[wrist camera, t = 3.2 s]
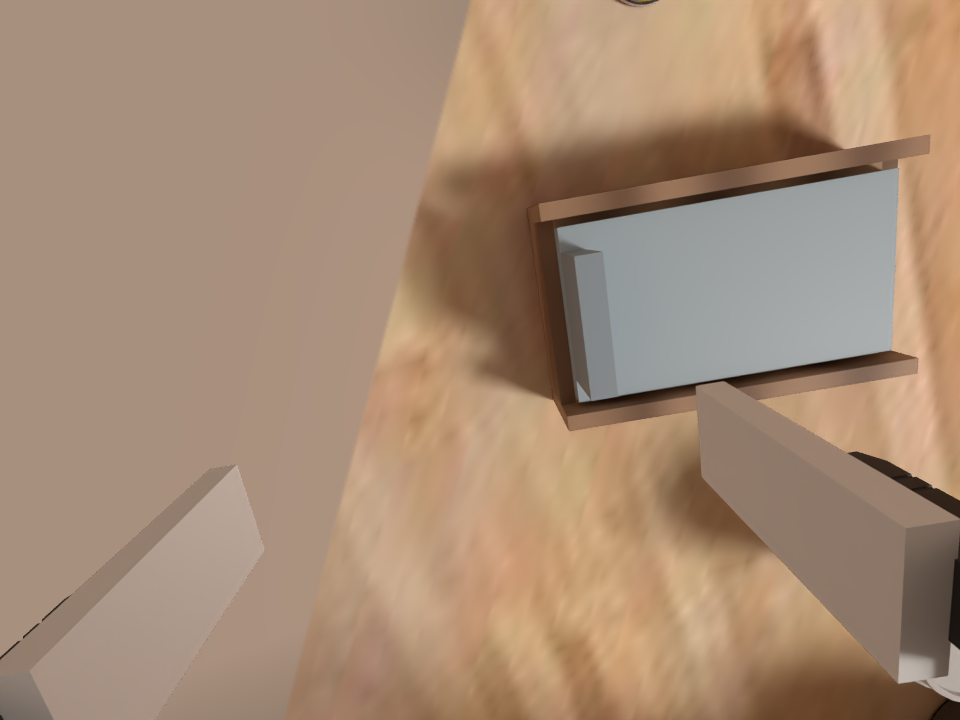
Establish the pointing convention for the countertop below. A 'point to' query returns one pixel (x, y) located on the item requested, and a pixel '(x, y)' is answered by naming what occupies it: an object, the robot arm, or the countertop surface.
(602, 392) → the cover plate
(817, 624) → the countertop surface
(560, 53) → the countertop surface
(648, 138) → the countertop surface
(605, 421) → the box body
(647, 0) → the supplement bottle
